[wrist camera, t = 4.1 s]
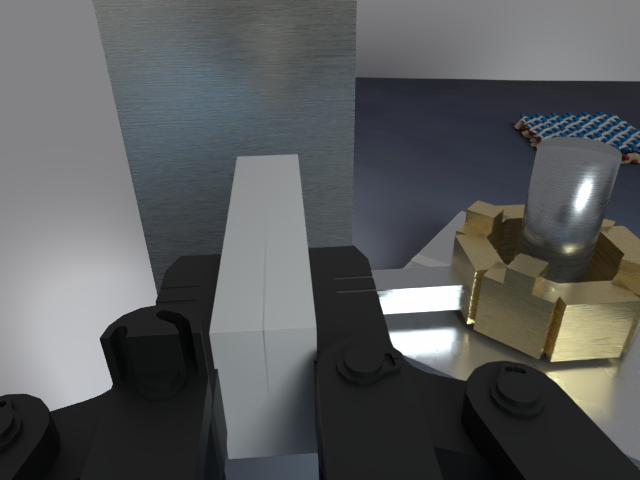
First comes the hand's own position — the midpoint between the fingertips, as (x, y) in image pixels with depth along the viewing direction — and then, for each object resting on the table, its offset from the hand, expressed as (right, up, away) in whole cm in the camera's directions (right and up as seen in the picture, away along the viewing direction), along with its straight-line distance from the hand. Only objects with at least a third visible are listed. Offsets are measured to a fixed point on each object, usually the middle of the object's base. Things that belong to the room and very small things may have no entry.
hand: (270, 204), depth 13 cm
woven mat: (+26, +8, +36) cm, 46 cm away
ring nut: (+5, -4, +12) cm, 13 cm away
